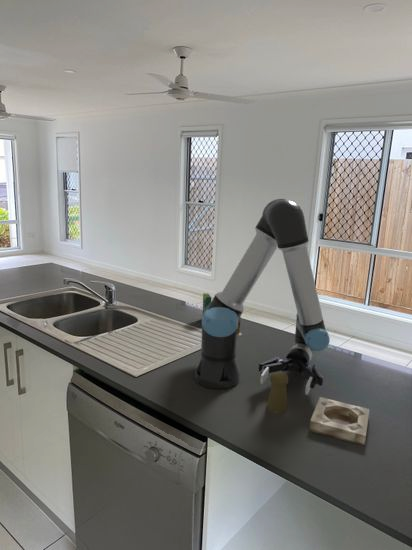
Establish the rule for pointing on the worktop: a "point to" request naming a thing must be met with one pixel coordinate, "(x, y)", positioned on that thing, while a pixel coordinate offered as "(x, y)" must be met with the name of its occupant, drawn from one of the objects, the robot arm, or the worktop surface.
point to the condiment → (238, 327)
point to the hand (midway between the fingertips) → (283, 384)
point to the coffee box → (206, 300)
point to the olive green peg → (278, 393)
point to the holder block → (340, 421)
